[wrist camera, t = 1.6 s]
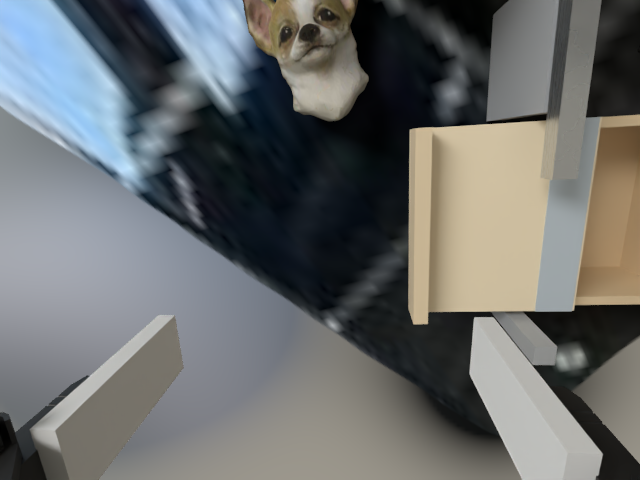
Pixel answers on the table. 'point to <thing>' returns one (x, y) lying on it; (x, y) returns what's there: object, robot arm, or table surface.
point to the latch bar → (569, 87)
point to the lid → (494, 220)
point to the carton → (609, 175)
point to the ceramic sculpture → (311, 51)
